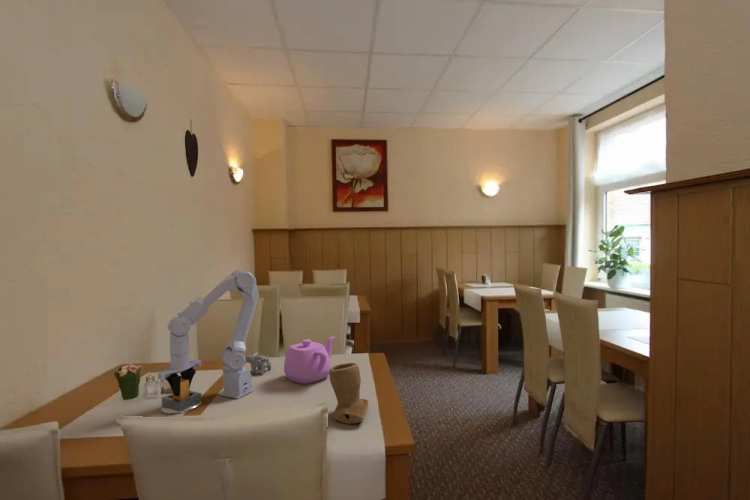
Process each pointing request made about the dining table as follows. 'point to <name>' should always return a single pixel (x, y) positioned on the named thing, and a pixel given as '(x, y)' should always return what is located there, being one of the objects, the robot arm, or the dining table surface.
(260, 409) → the dining table surface
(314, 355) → the teapot
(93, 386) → the dining table surface
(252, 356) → the gray elephant figurine
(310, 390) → the dining table surface
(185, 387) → the rectangular block
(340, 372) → the clay pipe bowl
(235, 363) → the robot arm
